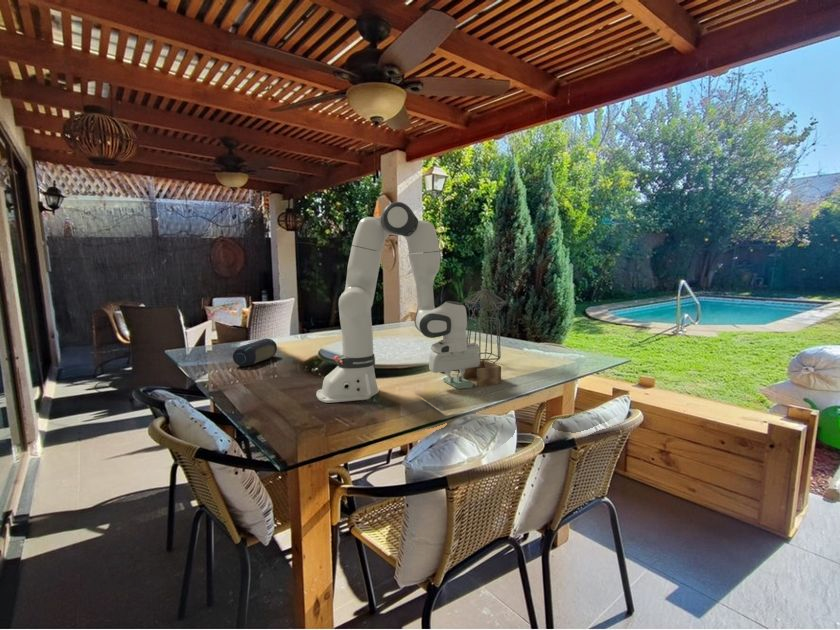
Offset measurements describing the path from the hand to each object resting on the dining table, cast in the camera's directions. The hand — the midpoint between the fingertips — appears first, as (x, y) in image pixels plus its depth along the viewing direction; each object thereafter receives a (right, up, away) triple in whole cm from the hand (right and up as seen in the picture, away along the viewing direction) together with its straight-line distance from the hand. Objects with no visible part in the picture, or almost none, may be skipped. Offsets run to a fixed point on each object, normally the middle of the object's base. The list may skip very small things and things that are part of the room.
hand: (455, 381), depth 161 cm
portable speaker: (-92, +2, +46) cm, 103 cm away
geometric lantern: (+16, +1, +33) cm, 37 cm away
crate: (+10, -2, +5) cm, 12 cm away
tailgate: (+5, -1, +2) cm, 5 cm away
